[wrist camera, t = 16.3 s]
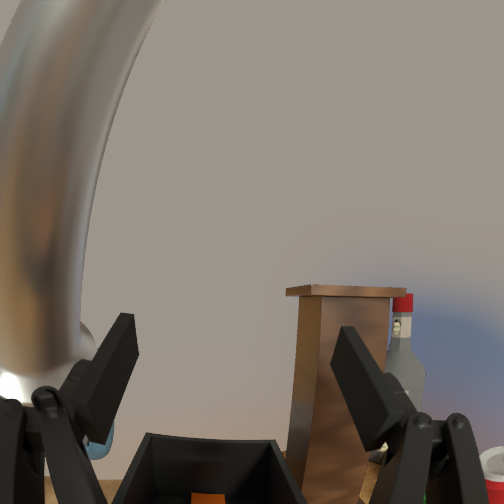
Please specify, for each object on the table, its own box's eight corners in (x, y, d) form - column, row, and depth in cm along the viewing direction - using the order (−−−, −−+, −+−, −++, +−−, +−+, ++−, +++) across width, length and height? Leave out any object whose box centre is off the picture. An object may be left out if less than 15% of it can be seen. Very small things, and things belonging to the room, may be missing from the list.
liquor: (380, 438, 46) (396, 295, 51) (414, 450, 38) (436, 293, 43) (349, 452, 42) (367, 294, 47) (386, 468, 34) (411, 292, 39)
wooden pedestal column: (284, 530, 22) (311, 284, 27) (269, 488, 32) (285, 288, 37) (366, 513, 23) (406, 287, 28) (339, 480, 33) (363, 291, 38)
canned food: (508, 528, 9) (546, 456, 10) (460, 556, 9) (503, 485, 11) (479, 505, 16) (507, 439, 18) (434, 525, 16) (463, 458, 18)
